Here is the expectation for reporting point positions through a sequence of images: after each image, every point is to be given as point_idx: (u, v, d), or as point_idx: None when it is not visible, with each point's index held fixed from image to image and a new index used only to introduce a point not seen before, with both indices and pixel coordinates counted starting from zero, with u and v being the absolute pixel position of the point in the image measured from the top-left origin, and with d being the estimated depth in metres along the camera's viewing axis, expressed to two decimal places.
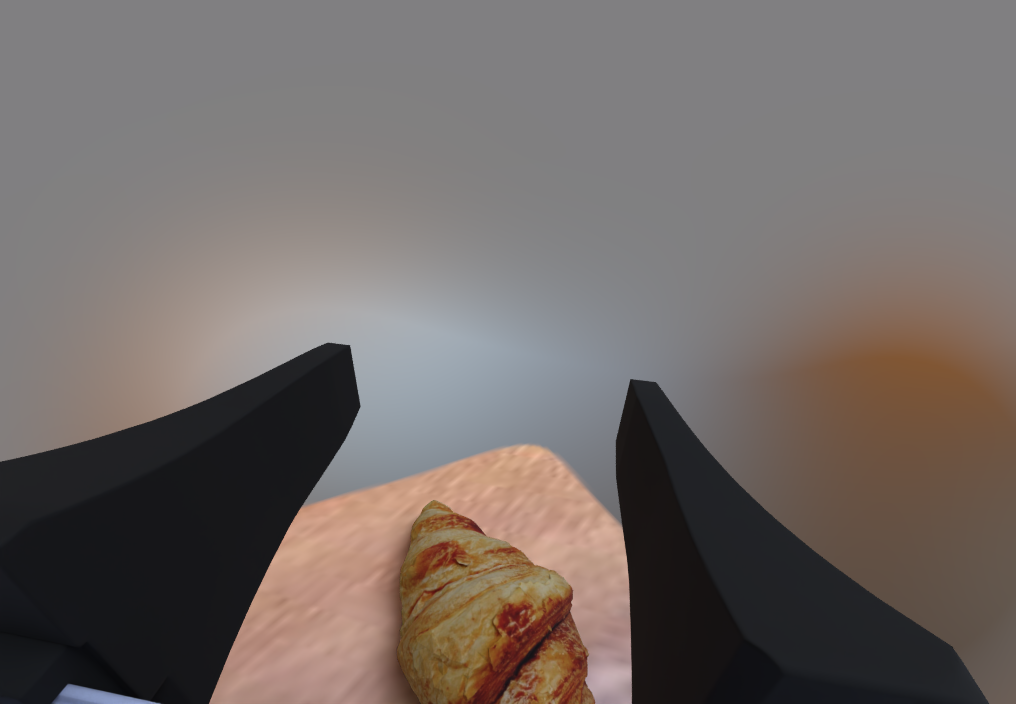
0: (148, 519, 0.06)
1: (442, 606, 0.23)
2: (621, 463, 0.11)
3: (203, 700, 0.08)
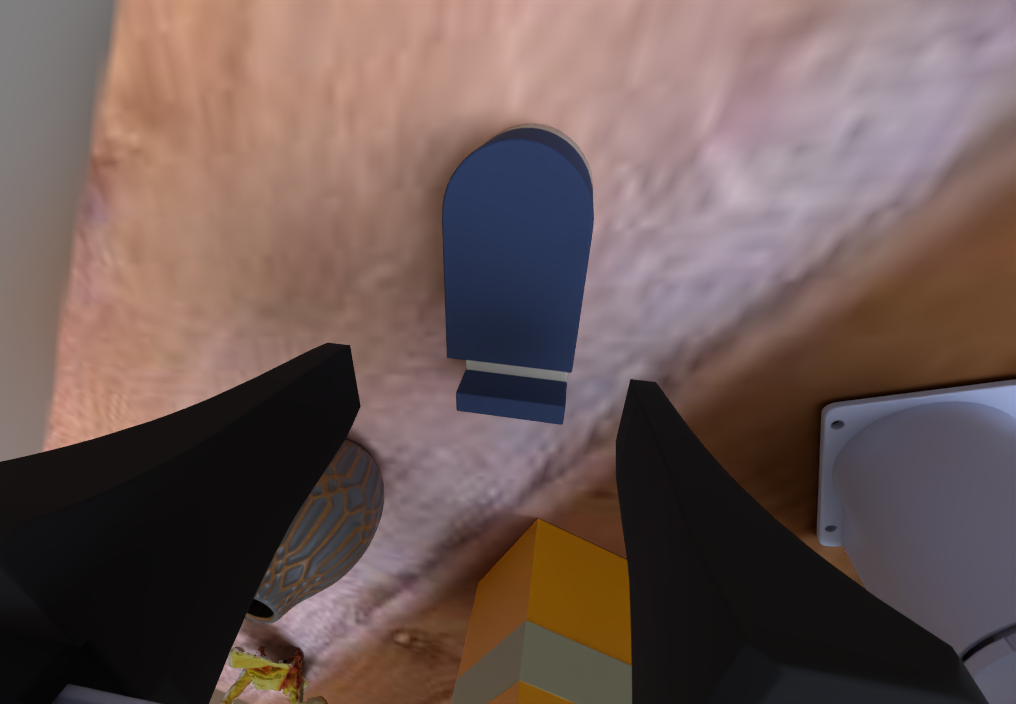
0: (148, 519, 0.06)
1: None
2: (621, 463, 0.11)
3: (202, 701, 0.08)
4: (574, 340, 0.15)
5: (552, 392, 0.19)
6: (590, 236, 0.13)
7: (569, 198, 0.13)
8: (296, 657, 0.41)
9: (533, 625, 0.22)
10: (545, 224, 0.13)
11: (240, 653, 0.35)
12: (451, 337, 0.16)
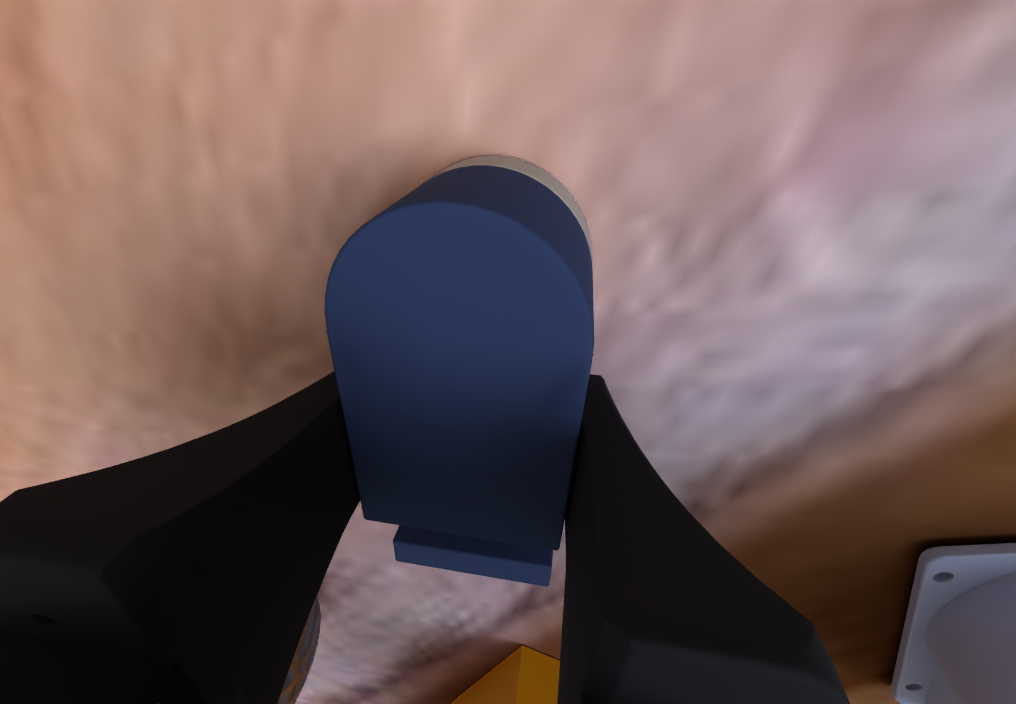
0: (228, 532, 0.06)
1: None
2: None
3: None
4: (562, 511, 0.09)
5: None
6: (588, 368, 0.07)
7: (548, 307, 0.07)
8: None
9: None
10: (508, 344, 0.08)
11: None
12: (367, 495, 0.10)
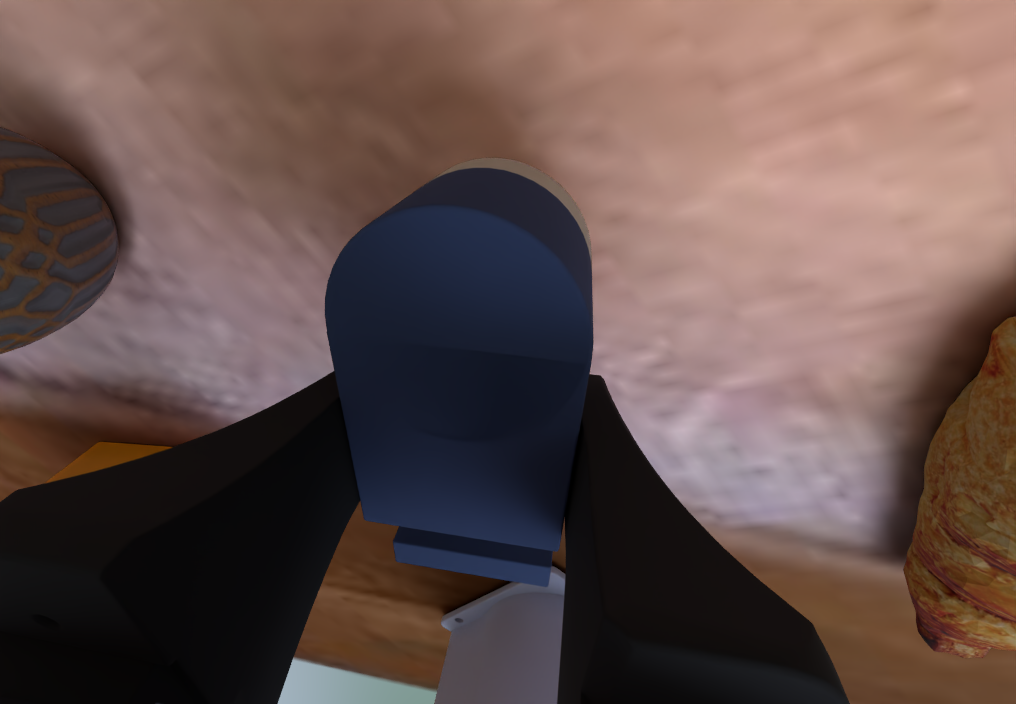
0: (228, 531, 0.06)
1: None
2: None
3: None
4: (561, 512, 0.09)
5: None
6: (587, 370, 0.07)
7: (547, 309, 0.07)
8: None
9: None
10: (507, 346, 0.08)
11: None
12: (367, 496, 0.10)
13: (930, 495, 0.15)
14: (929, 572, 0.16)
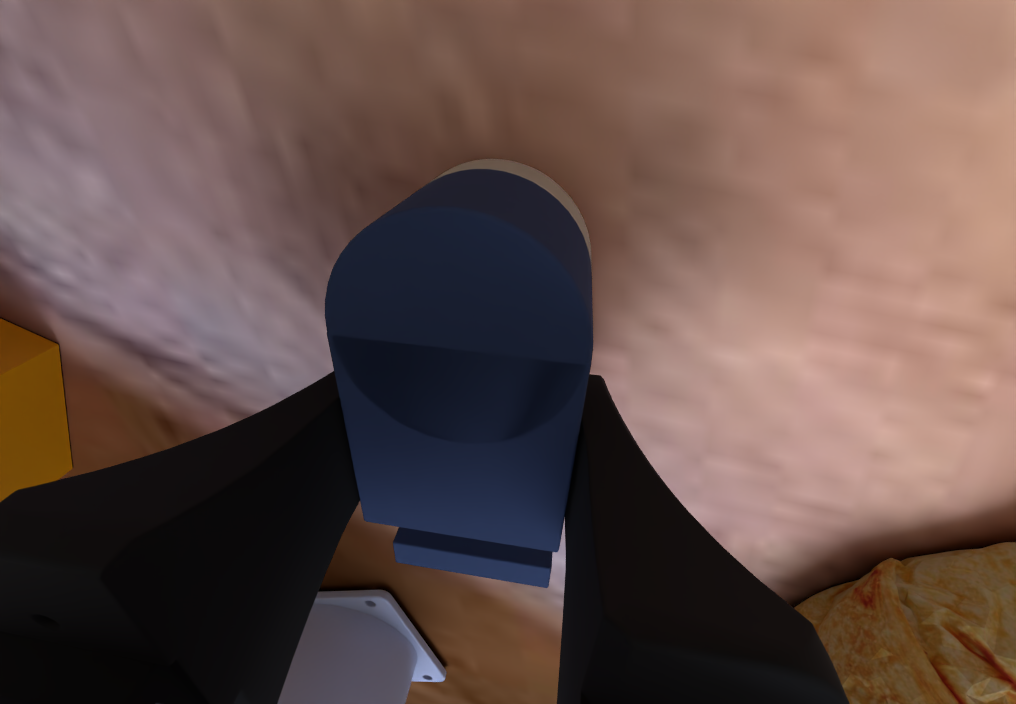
0: (228, 532, 0.06)
1: None
2: None
3: None
4: (561, 513, 0.09)
5: None
6: (587, 371, 0.07)
7: (548, 311, 0.07)
8: None
9: None
10: (507, 348, 0.08)
11: None
12: (367, 497, 0.10)
13: None
14: None
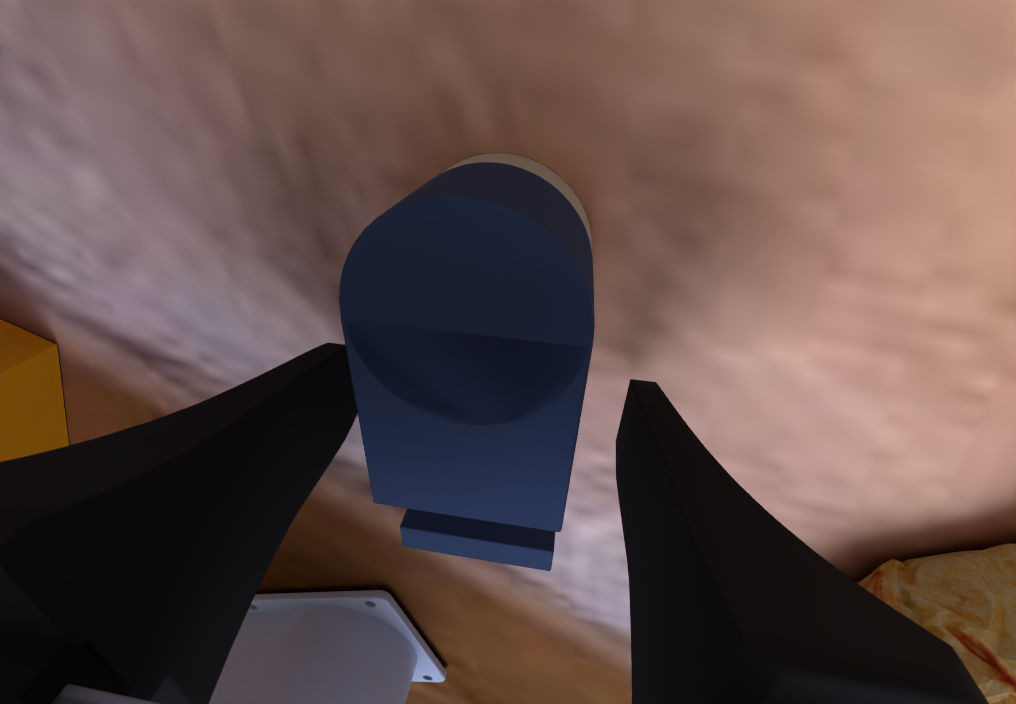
0: (148, 518, 0.06)
1: None
2: (621, 463, 0.11)
3: (202, 700, 0.08)
4: (564, 493, 0.10)
5: None
6: (588, 353, 0.08)
7: (551, 295, 0.07)
8: None
9: None
10: (513, 331, 0.08)
11: None
12: (376, 479, 0.10)
13: None
14: None
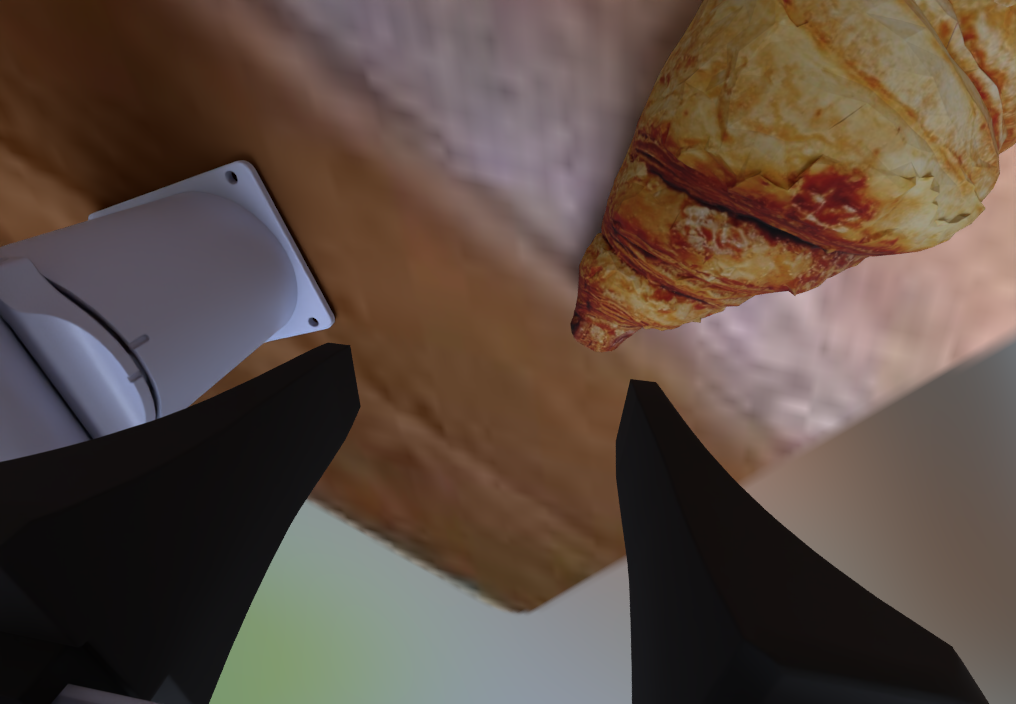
0: (148, 518, 0.06)
1: (850, 6, 0.09)
2: (621, 463, 0.11)
3: (202, 701, 0.08)
4: None
5: None
6: None
7: None
8: None
9: None
10: None
11: None
12: None
13: None
14: (602, 237, 0.16)
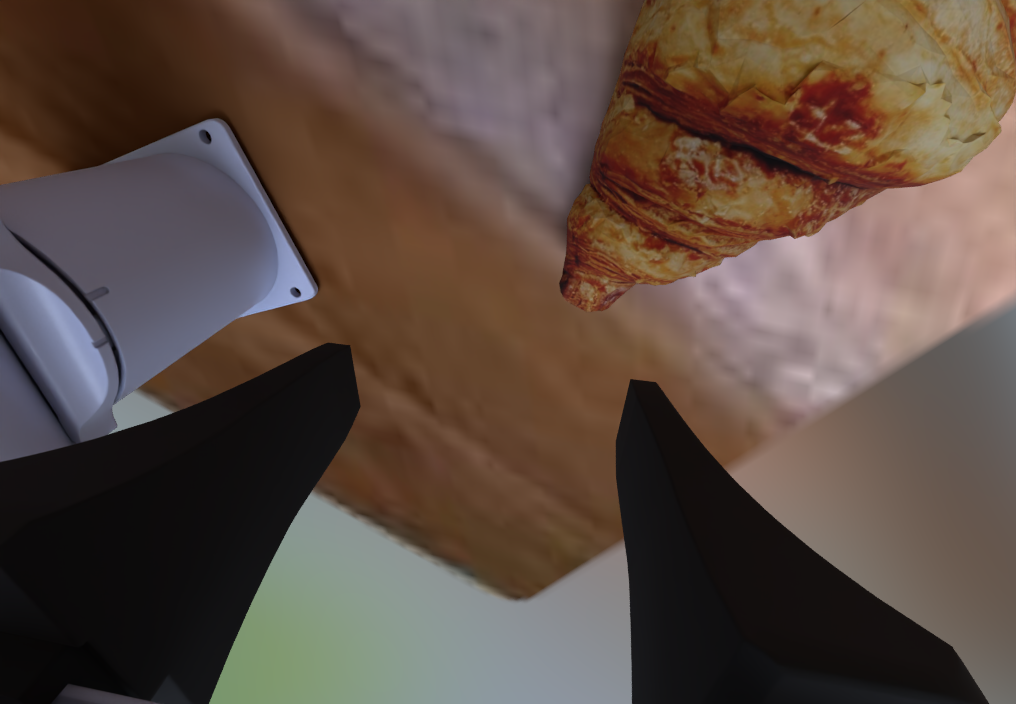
0: (147, 518, 0.06)
1: None
2: (621, 463, 0.11)
3: (202, 700, 0.08)
4: None
5: None
6: None
7: None
8: None
9: None
10: None
11: None
12: None
13: None
14: (590, 186, 0.15)
